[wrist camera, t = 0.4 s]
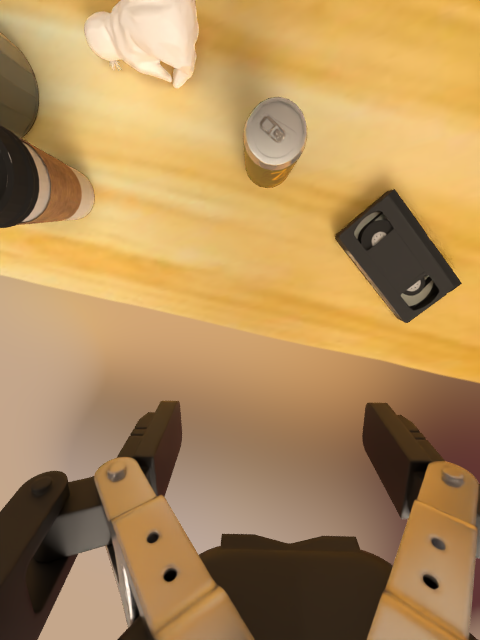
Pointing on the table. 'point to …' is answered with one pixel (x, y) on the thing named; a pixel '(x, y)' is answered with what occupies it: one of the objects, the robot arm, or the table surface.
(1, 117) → the canister
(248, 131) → the beer can
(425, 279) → the vhs tape
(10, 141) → the coffee cup
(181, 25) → the white figurine
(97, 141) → the table surface
